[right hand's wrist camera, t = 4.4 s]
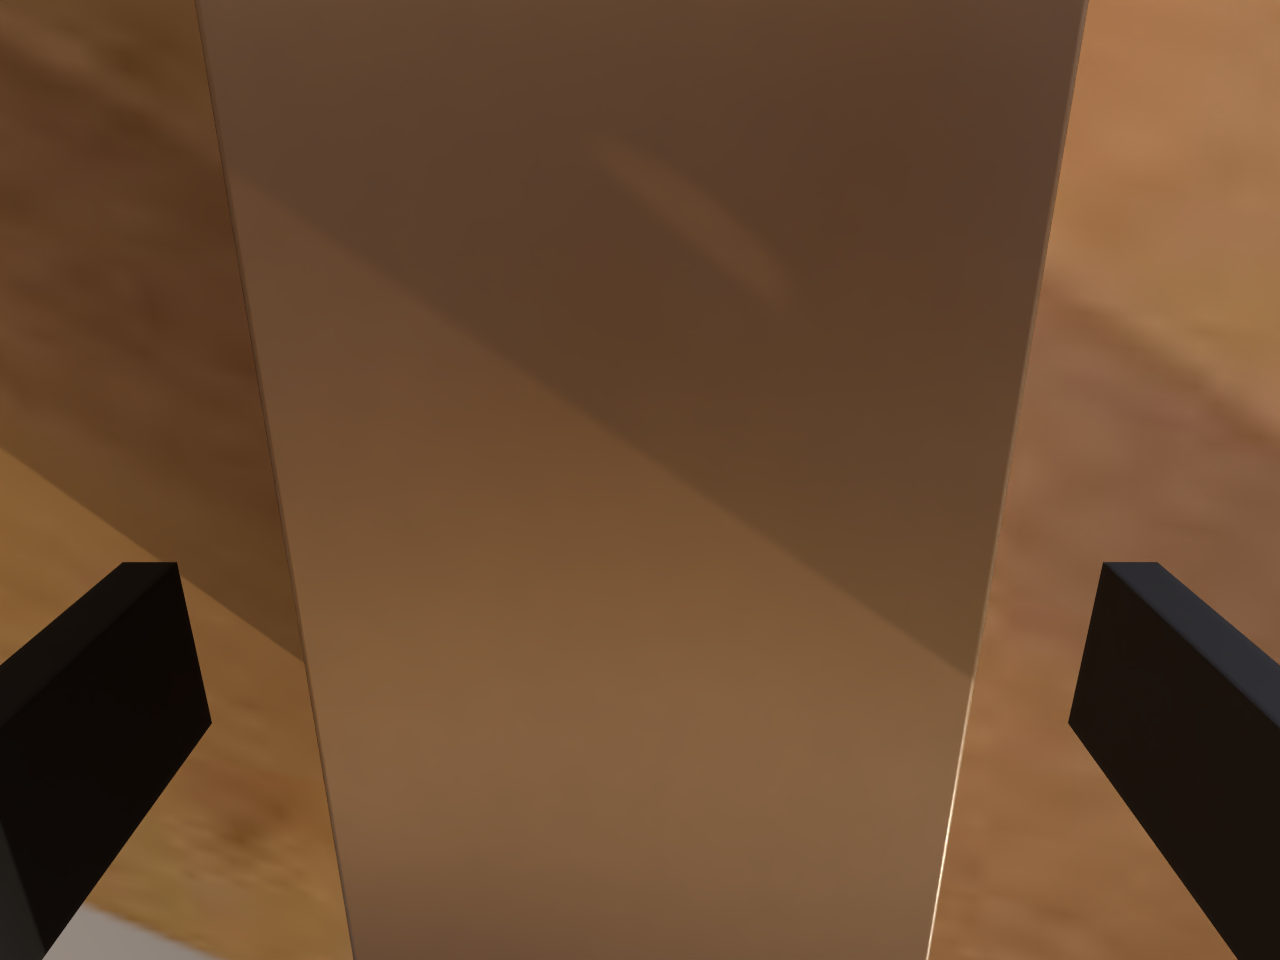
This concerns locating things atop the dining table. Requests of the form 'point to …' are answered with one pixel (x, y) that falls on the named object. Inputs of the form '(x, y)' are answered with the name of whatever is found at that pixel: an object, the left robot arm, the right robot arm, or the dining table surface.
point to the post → (641, 445)
